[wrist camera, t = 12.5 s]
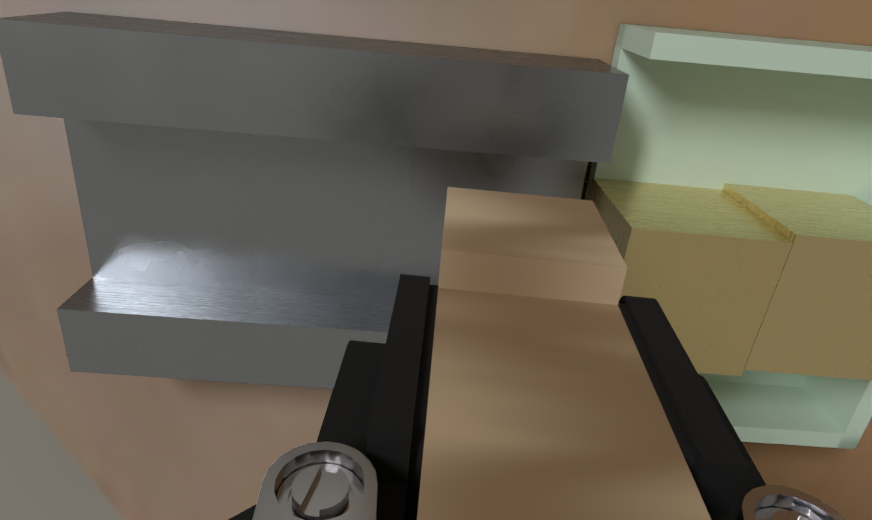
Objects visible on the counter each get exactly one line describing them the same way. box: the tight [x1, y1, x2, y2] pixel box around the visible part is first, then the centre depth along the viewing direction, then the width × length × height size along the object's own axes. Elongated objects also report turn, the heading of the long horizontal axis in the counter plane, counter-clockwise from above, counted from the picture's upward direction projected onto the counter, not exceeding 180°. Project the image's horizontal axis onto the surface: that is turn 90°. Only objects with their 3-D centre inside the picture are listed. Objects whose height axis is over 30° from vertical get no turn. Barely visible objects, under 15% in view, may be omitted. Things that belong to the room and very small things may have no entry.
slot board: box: [0, 12, 629, 389], centre depth 18 cm, size 15×10×3 cm, turn 85°
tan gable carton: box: [417, 187, 711, 520], centre depth 9 cm, size 3×4×10 cm
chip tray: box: [584, 23, 872, 449], centre depth 18 cm, size 10×12×3 cm
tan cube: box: [588, 178, 793, 376], centre depth 17 cm, size 4×4×4 cm
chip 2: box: [722, 183, 872, 380], centre depth 17 cm, size 4×4×4 cm
